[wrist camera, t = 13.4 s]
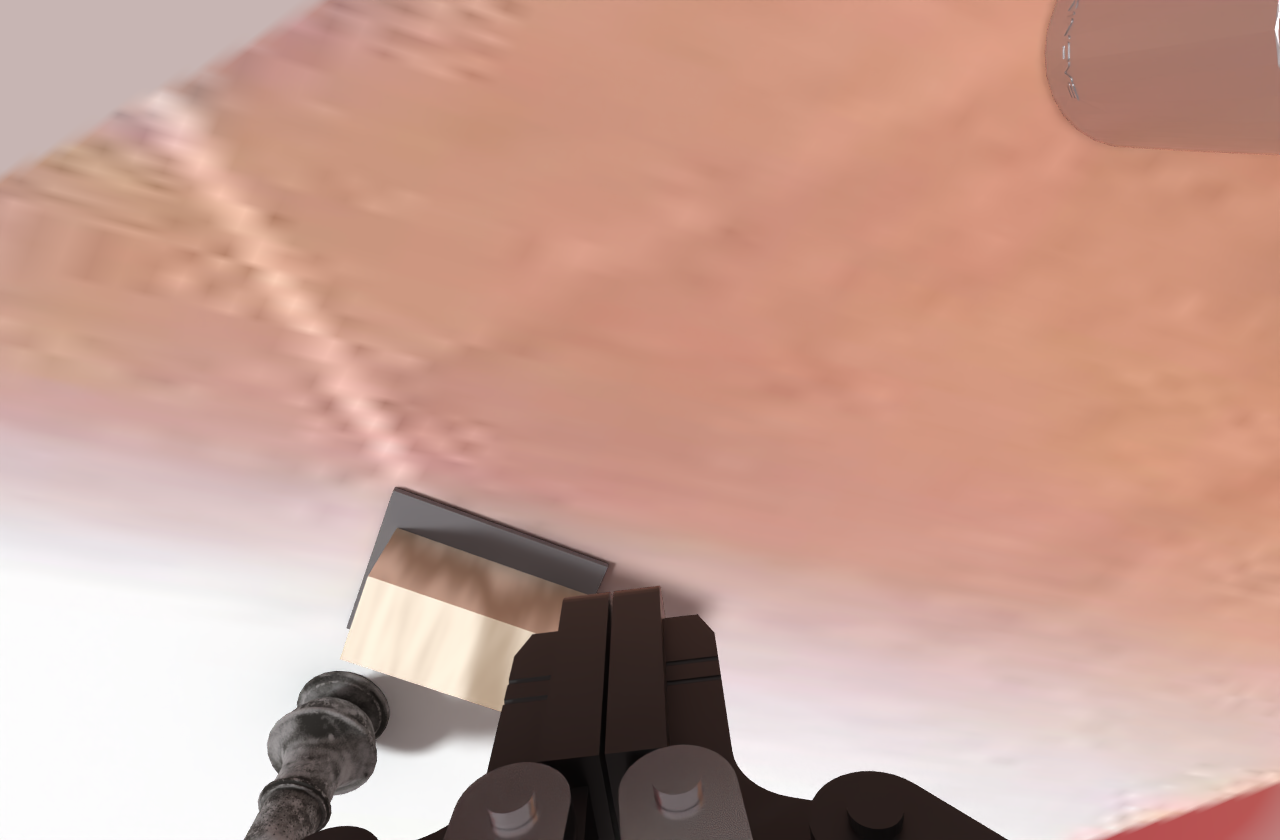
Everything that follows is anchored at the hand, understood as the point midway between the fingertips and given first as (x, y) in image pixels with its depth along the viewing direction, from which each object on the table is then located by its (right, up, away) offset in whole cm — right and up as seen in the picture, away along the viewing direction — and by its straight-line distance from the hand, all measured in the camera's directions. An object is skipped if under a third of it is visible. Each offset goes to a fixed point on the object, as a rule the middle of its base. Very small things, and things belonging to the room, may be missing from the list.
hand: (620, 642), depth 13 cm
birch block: (-2, -10, +31) cm, 33 cm away
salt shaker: (-17, -13, +36) cm, 42 cm away
